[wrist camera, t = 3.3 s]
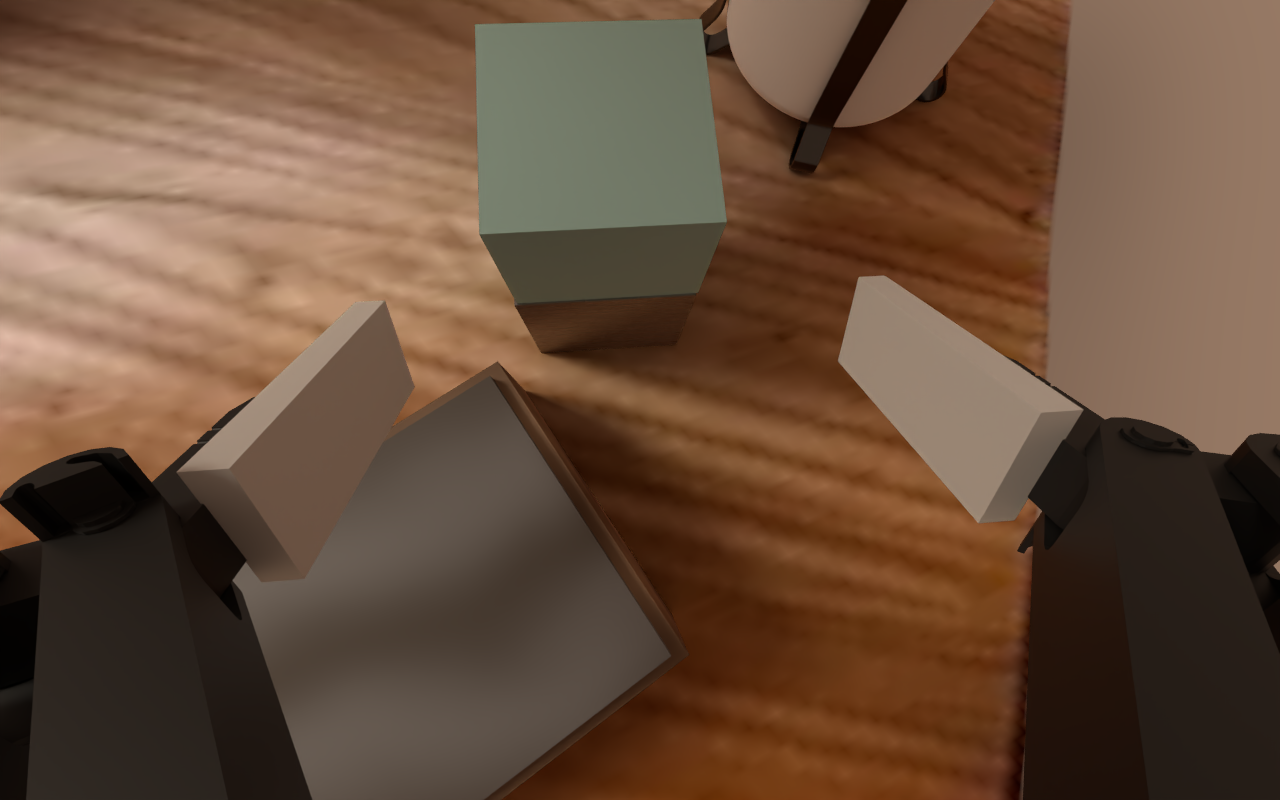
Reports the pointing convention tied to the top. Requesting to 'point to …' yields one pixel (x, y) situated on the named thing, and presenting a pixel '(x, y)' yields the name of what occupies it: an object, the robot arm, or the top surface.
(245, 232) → the top surface
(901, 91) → the coffee press
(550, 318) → the base
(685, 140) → the lid
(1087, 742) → the robot arm
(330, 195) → the top surface
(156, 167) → the top surface
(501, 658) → the walnut stand
